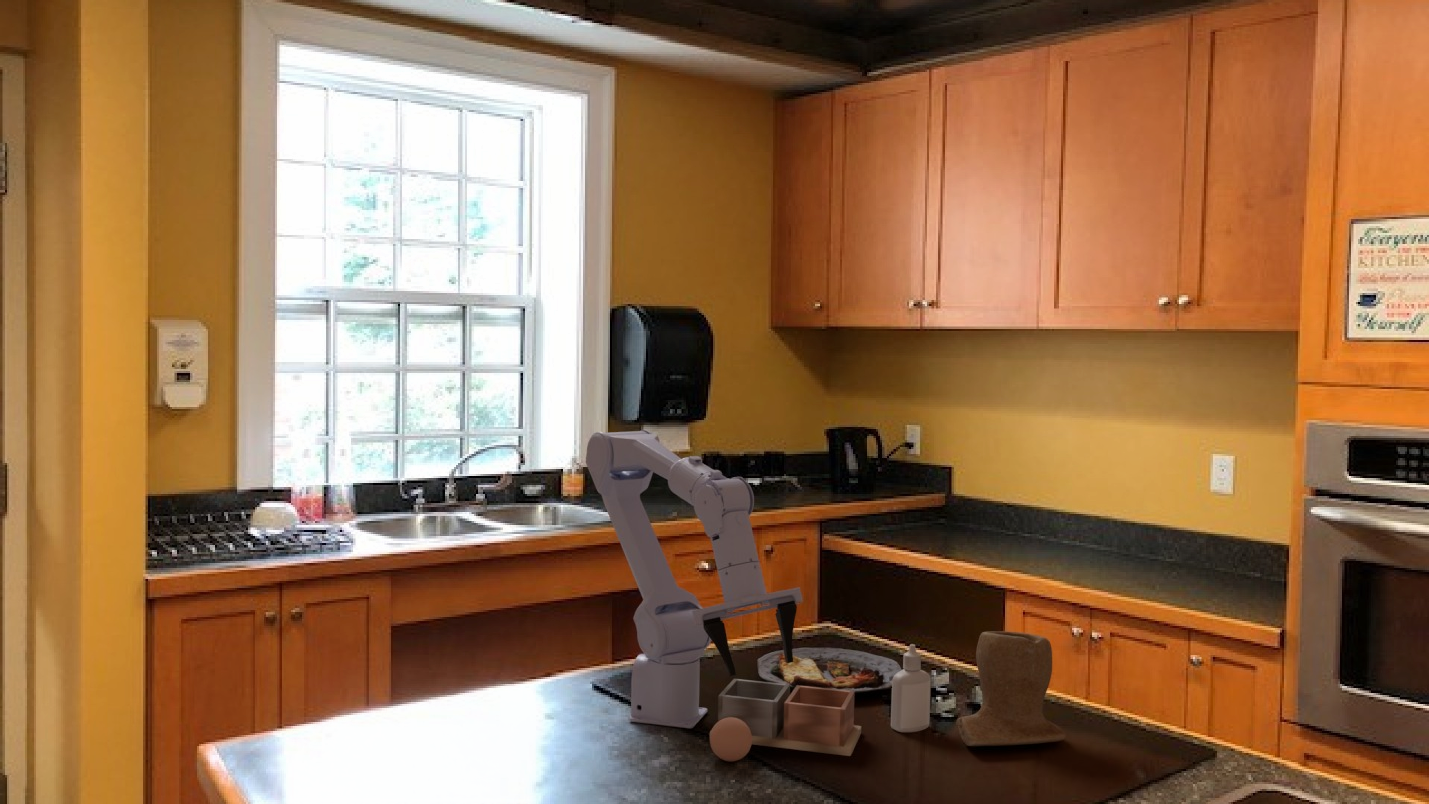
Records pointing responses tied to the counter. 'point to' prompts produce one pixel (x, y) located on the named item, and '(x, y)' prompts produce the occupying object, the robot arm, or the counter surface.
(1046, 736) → the brown flared upright piece
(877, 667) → the food plate
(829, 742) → the sorting bin tray
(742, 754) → the terracotta ball
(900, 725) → the eye dropper bottle
